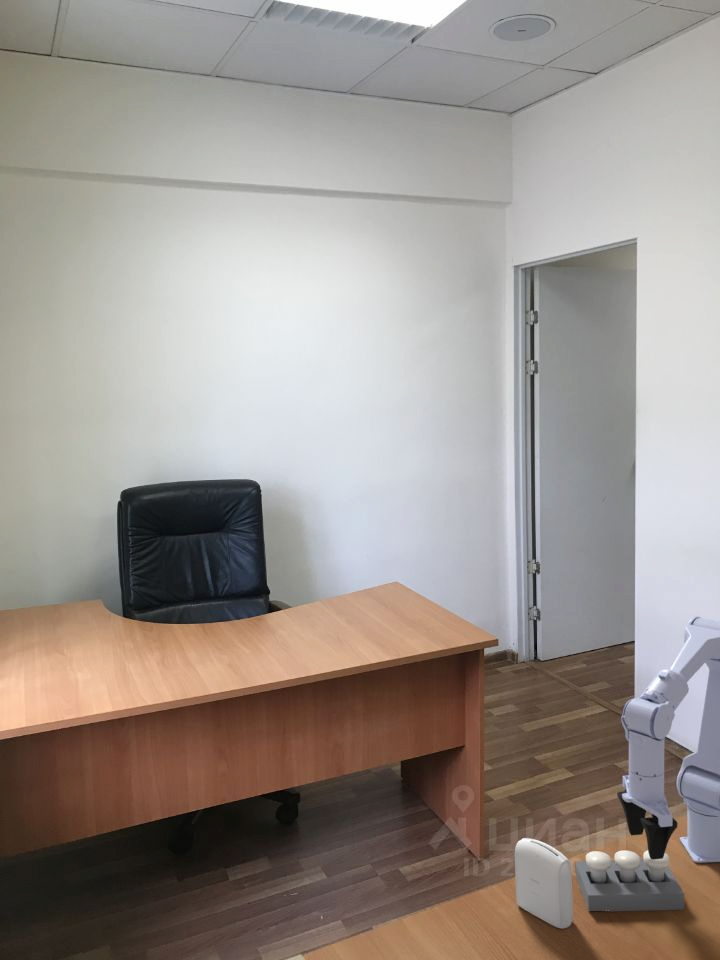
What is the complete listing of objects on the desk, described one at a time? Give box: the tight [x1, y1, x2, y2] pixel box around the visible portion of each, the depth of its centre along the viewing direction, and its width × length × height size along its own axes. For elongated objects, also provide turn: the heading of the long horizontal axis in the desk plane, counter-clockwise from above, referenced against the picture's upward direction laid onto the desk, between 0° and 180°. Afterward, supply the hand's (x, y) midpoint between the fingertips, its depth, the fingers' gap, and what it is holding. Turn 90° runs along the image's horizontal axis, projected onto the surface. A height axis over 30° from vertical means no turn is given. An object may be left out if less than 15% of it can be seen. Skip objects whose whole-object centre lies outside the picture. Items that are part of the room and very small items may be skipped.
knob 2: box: [642, 849, 670, 882], centre depth 142 cm, size 4×4×4 cm
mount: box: [574, 858, 685, 912], centre depth 143 cm, size 16×10×3 cm, turn 88°
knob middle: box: [614, 849, 641, 883], centre depth 142 cm, size 4×4×4 cm
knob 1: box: [585, 850, 612, 883], centre depth 142 cm, size 4×4×4 cm
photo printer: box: [514, 837, 574, 930], centre depth 138 cm, size 10×4×12 cm, turn 39°
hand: (646, 845), depth 140 cm, fingers open, 7 cm apart
